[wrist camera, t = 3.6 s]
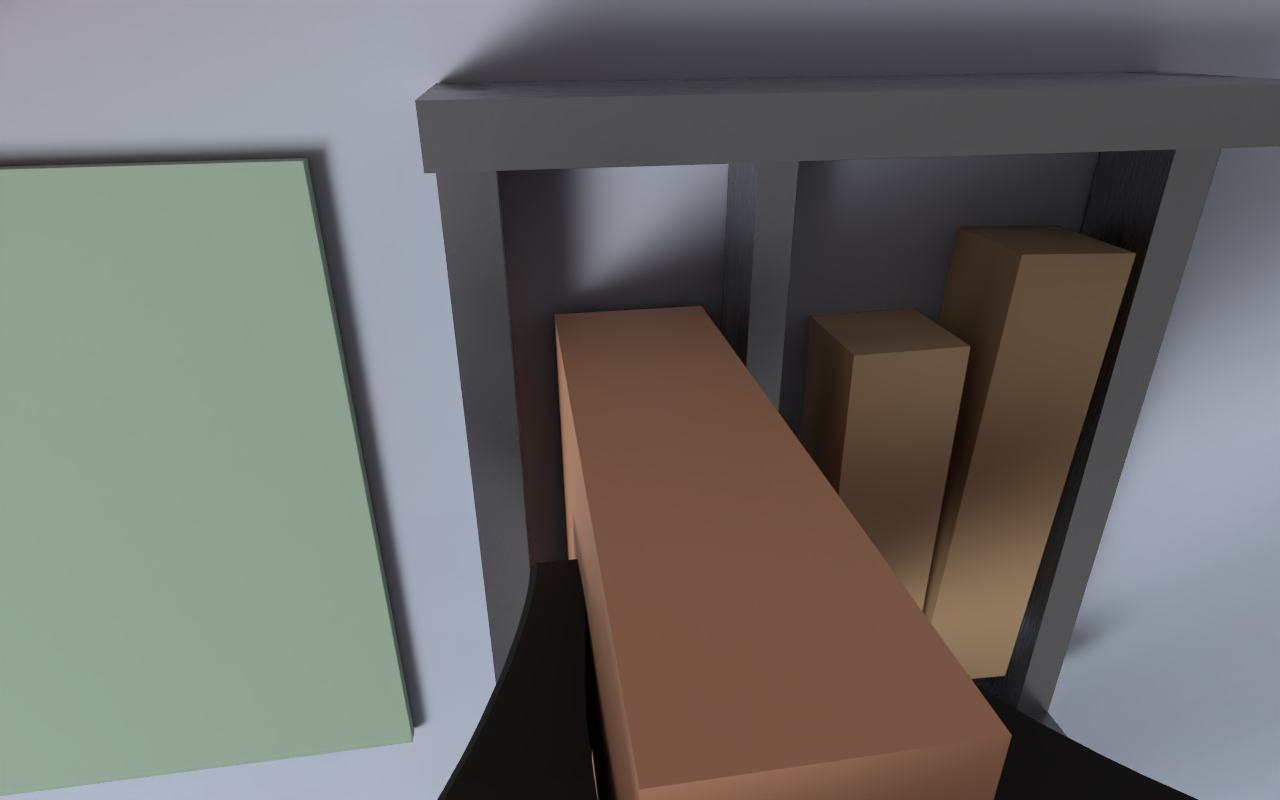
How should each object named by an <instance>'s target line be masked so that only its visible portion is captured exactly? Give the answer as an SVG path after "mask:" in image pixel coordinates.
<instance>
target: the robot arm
mask: <svg viewBox="0 0 1280 800" xmlns="http://www.w3.org/2000/svg"><path fill="white" fill-rule="evenodd" d="M974 684H975V683H974ZM975 685H976V684H975ZM976 686H977V688H978V689H979V691H980V692H981V693H982V695H983V696H984V698H985V699H986V700H987V702H988V703H989V704H990V706H991V707H992V709H993V710H994V711H995V713H996V714H997V715H998V717H999V718H1000V720H1001V721H1002V722H1003V724H1004V725H1005V727H1006V728H1007V729H1008V731H1009V732H1010V733H1011V735H1012V737H1011V740H1010V744H1009V747H1008V751H1007V754H1006V758H1005V761H1004V765H1003V768H1002V772H1001V775H1000V779H999V782H998V786H997V790H996V793H995V797H994V800H1198V799H1196V798H1193V797H1191V796H1189V795H1187V794H1184V793H1182V792H1180V791H1178V790H1175V789H1173V788H1171V787H1169V786H1166V785H1164V784H1162V783H1160V782H1157V781H1155V780H1153V779H1151V778H1148V777H1146V776H1144V775H1142V774H1140V773H1138V772H1135V771H1133V770H1131V769H1129V768H1127V767H1125V766H1123V765H1121V764H1119V763H1117V762H1115V761H1113V760H1110V759H1108V758H1106V757H1104V756H1102V755H1100V754H1098V753H1096V752H1095V751H1093V750H1091V749H1089V748H1087V747H1085V746H1083V745H1081V744H1079V743H1077V742H1075V741H1074V740H1072V739H1070V738H1068V737H1066V736H1064V735H1062V734H1060V733H1058V732H1056V731H1055V730H1053V729H1051V728H1049V727H1047V726H1045V725H1043V724H1042V723H1040V722H1038V721H1036V720H1035V719H1033V718H1031V717H1029V716H1027V715H1026V714H1024V713H1022V712H1020V711H1019V710H1017V709H1015V708H1014V707H1012V706H1011V705H1009V704H1007V703H1006V702H1004V701H1002V700H1001V699H999V698H997V697H996V696H994V695H993V694H991V693H989V692H988V691H986V690H984V689H983V688H981V687H980V686H978V685H976ZM437 800H598V799H597V792H596V785H595V778H594V771H593V763H592V738H591V717H590V695H589V674H588V653H587V631H586V610H585V597H584V591H583V585H582V580H581V574H580V569H579V564H578V559H573V560H563V561H553V562H543V563H537V564H536V565H535V566H534V567H533V568H532V569H531V570H530V576H529V585H528V590H527V595H526V600H525V604H524V608H523V611H522V615H521V618H520V621H519V625H518V628H517V631H516V634H515V637H514V640H513V642H512V645H511V648H510V651H509V653H508V656H507V659H506V662H505V664H504V667H503V670H502V672H501V675H500V677H499V679H498V682H497V684H496V686H495V688H494V691H493V693H492V695H491V697H490V700H489V702H488V704H487V706H486V708H485V711H484V713H483V715H482V717H481V720H480V722H479V724H478V726H477V728H476V730H475V732H474V734H473V736H472V738H471V740H470V742H469V744H468V746H467V748H466V750H465V752H464V753H463V755H462V757H461V759H460V761H459V763H458V764H457V766H456V768H455V770H454V772H453V773H452V775H451V777H450V779H449V781H448V782H447V784H446V786H445V788H444V789H443V791H442V793H441V794H440V796H439V798H438V799H437Z"/></svg>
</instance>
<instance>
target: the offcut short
mask: <svg viewBox="0 0 1280 800" xmlns="http://www.w3.org/2000/svg"><path fill="white" fill-rule="evenodd" d="M970 347H971V346H969V345H968V344H966V343H965V342H963V341H962V340H960V339H959V338H957V337H956V336H954V335H953V334H951V333H950V332H948V331H947V330H945V329H944V328H942V327H941V326H939V325H938V324H937V323H935V322H934V321H932V320H931V319H929V318H928V317H926V316H925V315H923V314H922V313H920V312H919V311H917V310H916V309H914V308H912V309H898V310H884V311H870V312H856V313H842V314H828V315H814V316H811V317H810V328H809V340H808V352H807V364H806V376H805V387H804V399H803V411H802V423H801V434H800V443H801V444H802V446H803V447H804V448H805V450H806V451H807V453H808V454H809V455H810V457H811V458H812V460H813V461H814V462H815V464H816V465H817V466H818V468H819V469H820V471H821V472H822V473H823V475H824V476H825V477H826V479H827V480H828V482H829V483H830V484H831V486H832V487H833V489H834V490H835V491H836V493H837V494H838V495H839V497H840V498H841V500H842V501H843V502H844V504H845V505H846V507H847V508H848V509H849V511H850V512H851V513H852V515H853V516H854V518H855V519H856V520H857V522H858V523H859V525H860V526H861V527H862V529H863V530H864V531H865V533H866V534H867V536H868V537H869V538H870V540H871V541H872V543H873V544H874V545H875V547H876V548H877V549H878V551H879V552H880V554H881V555H882V556H883V558H884V559H885V561H886V562H887V563H888V565H889V566H890V567H891V569H892V570H893V572H894V573H895V574H896V576H897V577H898V579H899V580H900V581H901V583H902V584H903V585H904V587H905V588H906V590H907V591H908V592H909V594H910V595H911V596H912V598H913V599H914V601H915V602H916V603H917V605H918V606H919V608H920V609H921V610H923V605H924V599H925V594H926V588H927V583H928V577H929V572H930V566H931V561H932V555H933V550H934V544H935V539H936V533H937V528H938V522H939V517H940V511H941V506H942V500H943V495H944V489H945V484H946V478H947V473H948V467H949V462H950V457H951V451H952V446H953V440H954V435H955V429H956V424H957V418H958V413H959V407H960V402H961V396H962V391H963V385H964V380H965V374H966V369H967V363H968V358H969V352H970Z"/></svg>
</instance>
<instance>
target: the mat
mask: <svg viewBox="0 0 1280 800" xmlns="http://www.w3.org/2000/svg"><path fill="white" fill-rule="evenodd" d="M413 736H414V727H413V721H412V716H411V711H410V705H409V700H408V695H407V689H406V684H405V679H404V673H403V668H402V663H401V657H400V652H399V646H398V641H397V636H396V630H395V625H394V620H393V614H392V609H391V604H390V598H389V593H388V587H387V582H386V577H385V571H384V566H383V561H382V555H381V550H380V545H379V539H378V534H377V529H376V523H375V518H374V512H373V507H372V502H371V496H370V491H369V486H368V480H367V475H366V470H365V464H364V459H363V453H362V448H361V443H360V437H359V432H358V427H357V421H356V416H355V411H354V405H353V400H352V395H351V389H350V384H349V378H348V373H347V368H346V362H345V357H344V352H343V346H342V341H341V336H340V330H339V325H338V319H337V314H336V309H335V303H334V298H333V293H332V287H331V282H330V277H329V271H328V266H327V261H326V255H325V250H324V244H323V239H322V234H321V228H320V223H319V218H318V212H317V207H316V202H315V196H314V191H313V185H312V180H311V175H310V169H309V164H308V159H307V158H283V159H248V160H213V161H178V162H143V163H107V164H72V165H37V166H2V167H0V796H4V795H12V794H20V793H27V792H35V791H42V790H50V789H58V788H65V787H73V786H81V785H88V784H96V783H104V782H111V781H119V780H126V779H134V778H142V777H149V776H157V775H165V774H172V773H180V772H187V771H195V770H203V769H210V768H218V767H226V766H233V765H241V764H248V763H256V762H264V761H271V760H279V759H287V758H294V757H302V756H309V755H317V754H325V753H332V752H340V751H348V750H355V749H363V748H370V747H378V746H386V745H393V744H401V743H409V742H413Z"/></svg>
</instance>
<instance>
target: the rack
mask: <svg viewBox="0 0 1280 800" xmlns="http://www.w3.org/2000/svg"><path fill="white" fill-rule="evenodd" d="M415 102H416V110H417V118H418V126H419V134H420V142H421V150H422V158H423V166H424V173H436V177H437V185H438V194H439V202H440V211H441V219H442V228H443V236H444V245H445V253H446V262H447V270H448V279H449V287H450V296H451V304H452V313H453V321H454V330H455V338H456V347H457V355H458V364H459V372H460V381H461V390H462V398H463V407H464V415H465V424H466V432H467V441H468V449H469V458H470V466H471V475H472V483H473V492H474V500H475V509H476V517H477V526H478V534H479V543H480V551H481V560H482V568H483V577H484V585H485V594H486V602H487V611H488V619H489V628H490V636H491V645H492V653H493V662H494V670H495V679H496V684H497V682H498V679H499V677H500V675H501V672H502V670H503V667H504V664H505V662H506V659H507V656H508V653H509V651H510V648H511V645H512V642H513V640H514V637H515V634H516V631H517V628H518V625H519V621H520V618H521V615H522V611H523V608H524V604H525V600H526V595H527V590H528V585H529V576H530V570H531V569H532V567H531V555H530V543H529V531H528V519H527V507H526V495H525V483H524V471H523V459H522V447H521V435H520V423H519V411H518V399H517V387H516V375H515V363H514V351H513V339H512V327H511V315H510V303H509V291H508V279H507V267H506V255H505V243H504V231H503V219H502V207H501V195H500V183H499V171H507V170H538V169H570V168H601V167H633V166H665V165H696V164H728V163H729V168H728V191H727V215H726V238H725V262H724V285H723V308H722V332H721V334H722V335H723V336H724V338H725V339H726V340H727V342H728V343H729V345H730V346H731V347H732V349H733V350H734V352H735V353H736V354H737V356H738V357H739V358H740V360H741V361H742V363H743V364H744V365H745V367H746V368H747V370H748V371H749V372H750V374H751V375H752V376H753V378H754V379H755V381H756V382H757V383H758V385H759V386H760V388H761V389H762V390H763V392H764V393H765V394H766V396H767V397H768V399H769V400H770V401H771V403H772V404H773V406H774V407H775V408H776V410H777V411H778V412H779V399H780V387H781V374H782V362H783V350H784V337H785V325H786V313H787V300H788V288H789V275H790V263H791V251H792V238H793V226H794V214H795V201H796V189H797V176H798V164H799V161H822V160H854V159H885V158H917V157H948V156H980V155H1011V154H1043V153H1075V152H1101V153H1100V158H1099V162H1098V166H1097V170H1096V174H1095V178H1094V182H1093V186H1092V190H1091V194H1090V198H1089V203H1088V207H1087V211H1086V215H1085V219H1084V223H1083V227H1082V231H1081V234H1083V235H1086V236H1089V237H1092V238H1095V239H1097V240H1100V241H1103V242H1106V243H1109V244H1111V245H1114V246H1117V247H1120V248H1123V249H1126V250H1128V251H1131V252H1134V253H1136V256H1135V259H1134V262H1133V265H1132V269H1131V272H1130V275H1129V278H1128V281H1127V285H1126V288H1125V291H1124V294H1123V298H1122V301H1121V304H1120V307H1119V310H1118V314H1117V317H1116V320H1115V323H1114V326H1113V330H1112V333H1111V336H1110V339H1109V343H1108V346H1107V349H1106V352H1105V355H1104V359H1103V362H1102V365H1101V368H1100V372H1099V375H1098V378H1097V381H1096V384H1095V388H1094V391H1093V394H1092V397H1091V401H1090V404H1089V407H1088V410H1087V413H1086V417H1085V420H1084V423H1083V426H1082V430H1081V433H1080V436H1079V439H1078V442H1077V446H1076V449H1075V452H1074V455H1073V459H1072V462H1071V465H1070V468H1069V471H1068V475H1067V478H1066V481H1065V484H1064V487H1063V491H1062V494H1061V497H1060V500H1059V504H1058V507H1057V510H1056V513H1055V516H1054V520H1053V523H1052V526H1051V529H1050V533H1049V536H1048V539H1047V542H1046V545H1045V549H1044V552H1043V555H1042V558H1041V562H1040V565H1039V568H1038V571H1037V574H1036V578H1035V581H1034V584H1033V587H1032V591H1031V594H1030V597H1029V600H1028V603H1027V607H1026V610H1025V613H1024V616H1023V619H1022V623H1021V626H1020V629H1019V632H1018V636H1017V639H1016V642H1015V645H1014V648H1013V652H1012V655H1011V658H1010V661H1009V665H1008V668H1007V671H1006V674H1005V676H996V677H986V678H976V679H971V680H972V681H973V682H974V683H975V684H976V685H978V686H980V687H981V688H983V689H984V690H986V691H988V692H989V693H991V694H993V695H994V696H996V697H997V698H999V699H1001V700H1002V701H1004V702H1006V703H1007V704H1009V705H1011V706H1012V707H1014V708H1015V709H1017V710H1019V711H1020V712H1022V713H1024V714H1026V715H1027V716H1029V717H1031V718H1033V719H1035V720H1036V721H1038V722H1040V723H1042V724H1043V725H1045V726H1047V727H1049V728H1051V729H1053V730H1055V731H1056V732H1058V733H1060V734H1062V735H1064V736H1066V735H1065V733H1064V732H1063V731H1062V730H1061V728H1060V727H1059V726H1058V725H1057V723H1056V722H1055V721H1054V720H1053V718H1052V717H1051V716H1050V715H1049V713H1048V709H1049V705H1050V702H1051V699H1052V696H1053V692H1054V689H1055V686H1056V683H1057V679H1058V676H1059V673H1060V670H1061V666H1062V663H1063V660H1064V657H1065V654H1066V650H1067V647H1068V644H1069V641H1070V637H1071V634H1072V631H1073V628H1074V624H1075V621H1076V618H1077V615H1078V611H1079V608H1080V605H1081V602H1082V599H1083V595H1084V592H1085V589H1086V586H1087V582H1088V579H1089V576H1090V573H1091V569H1092V566H1093V563H1094V560H1095V556H1096V553H1097V550H1098V547H1099V543H1100V540H1101V537H1102V534H1103V531H1104V527H1105V524H1106V521H1107V518H1108V514H1109V511H1110V508H1111V505H1112V501H1113V498H1114V495H1115V492H1116V488H1117V485H1118V482H1119V479H1120V476H1121V472H1122V469H1123V466H1124V463H1125V459H1126V456H1127V453H1128V450H1129V446H1130V443H1131V440H1132V437H1133V433H1134V430H1135V427H1136V424H1137V421H1138V417H1139V414H1140V411H1141V408H1142V404H1143V401H1144V398H1145V395H1146V391H1147V388H1148V385H1149V382H1150V378H1151V375H1152V372H1153V369H1154V366H1155V362H1156V359H1157V356H1158V353H1159V349H1160V346H1161V343H1162V340H1163V336H1164V333H1165V330H1166V327H1167V323H1168V320H1169V317H1170V314H1171V310H1172V307H1173V304H1174V301H1175V298H1176V294H1177V291H1178V288H1179V285H1180V281H1181V278H1182V275H1183V272H1184V268H1185V265H1186V262H1187V259H1188V255H1189V252H1190V249H1191V246H1192V243H1193V239H1194V236H1195V233H1196V230H1197V226H1198V223H1199V220H1200V217H1201V213H1202V210H1203V207H1204V204H1205V200H1206V197H1207V194H1208V191H1209V188H1210V184H1211V181H1212V178H1213V175H1214V171H1215V168H1216V165H1217V162H1218V158H1219V155H1220V152H1221V149H1222V148H1232V147H1264V146H1280V79H1265V78H1250V77H1234V76H1219V75H1204V74H1188V73H1173V72H1122V73H1059V74H997V75H935V76H872V77H810V78H748V79H685V80H623V81H561V82H498V83H436V84H435V85H434V86H432V87H431V88H430V89H429V90H427V91H426V92H425V93H424V94H422V95H421V96H420V97H419V98H417V99H416V100H415ZM1066 737H1067V736H1066Z"/></svg>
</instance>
